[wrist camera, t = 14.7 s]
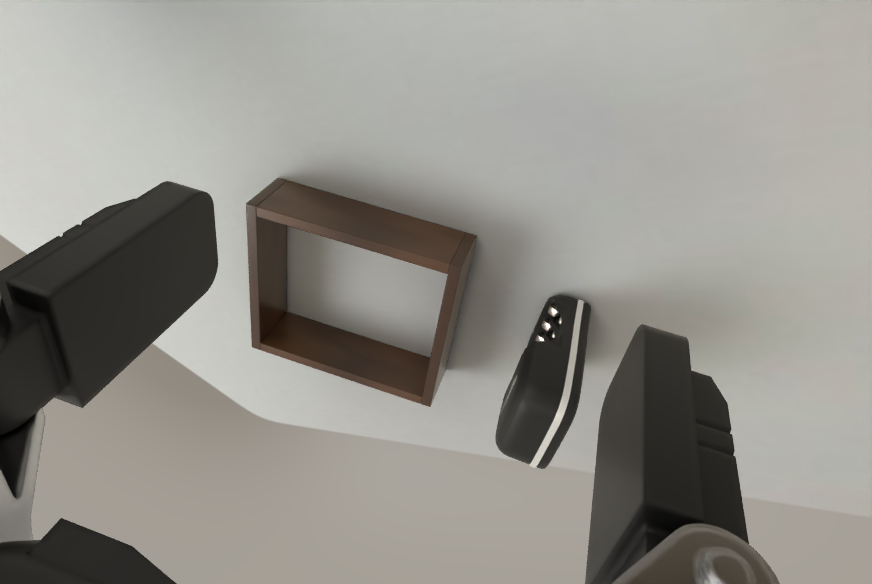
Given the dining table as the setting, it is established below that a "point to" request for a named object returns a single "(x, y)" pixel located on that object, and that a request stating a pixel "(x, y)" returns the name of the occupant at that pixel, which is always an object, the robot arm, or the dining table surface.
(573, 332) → the battery charger
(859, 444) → the dining table surface
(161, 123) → the dining table surface
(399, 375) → the walnut box
